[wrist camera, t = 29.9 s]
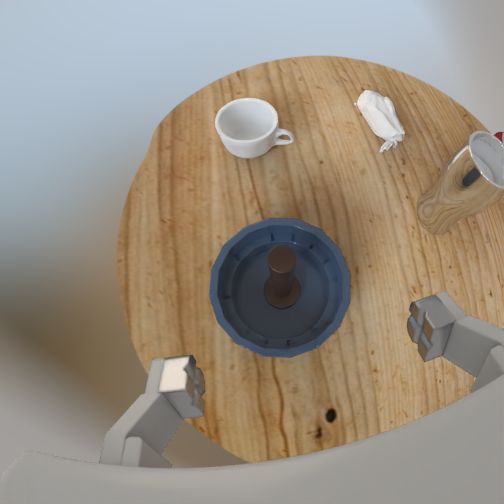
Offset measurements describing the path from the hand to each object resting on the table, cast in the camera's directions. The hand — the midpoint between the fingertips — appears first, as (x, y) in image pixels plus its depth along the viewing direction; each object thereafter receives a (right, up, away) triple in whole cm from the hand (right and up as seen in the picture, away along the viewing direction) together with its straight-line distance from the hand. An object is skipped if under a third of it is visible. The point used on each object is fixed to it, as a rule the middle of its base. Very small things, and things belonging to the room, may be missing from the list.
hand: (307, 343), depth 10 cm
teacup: (-1, +18, +30) cm, 35 cm away
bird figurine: (+16, +22, +29) cm, 40 cm away
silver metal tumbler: (+23, +8, +25) cm, 34 cm away
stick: (+1, -1, +24) cm, 24 cm away
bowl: (+1, -2, +24) cm, 24 cm away
